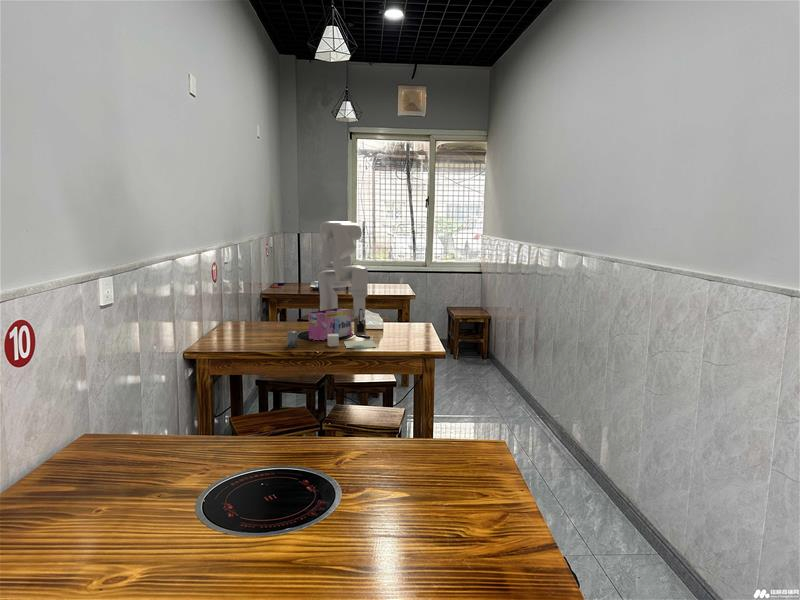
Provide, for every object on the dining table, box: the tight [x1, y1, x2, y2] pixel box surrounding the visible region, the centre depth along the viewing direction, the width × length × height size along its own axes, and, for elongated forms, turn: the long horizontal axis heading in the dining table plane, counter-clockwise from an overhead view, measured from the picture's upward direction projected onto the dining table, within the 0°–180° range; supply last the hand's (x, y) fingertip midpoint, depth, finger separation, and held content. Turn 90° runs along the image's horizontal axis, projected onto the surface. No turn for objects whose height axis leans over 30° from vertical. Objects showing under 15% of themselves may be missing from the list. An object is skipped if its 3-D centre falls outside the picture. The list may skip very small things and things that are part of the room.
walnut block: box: [353, 317, 367, 336], centre depth 264 cm, size 5×5×7 cm
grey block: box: [326, 334, 340, 347], centre depth 265 cm, size 5×5×5 cm
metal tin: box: [286, 330, 299, 348], centre depth 261 cm, size 5×5×7 cm
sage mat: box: [343, 340, 377, 349], centre depth 266 cm, size 14×14×1 cm
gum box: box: [308, 307, 353, 342], centre depth 284 cm, size 24×8×14 cm, turn 139°
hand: (359, 330), depth 264 cm, fingers closed on walnut block, 5 cm apart
